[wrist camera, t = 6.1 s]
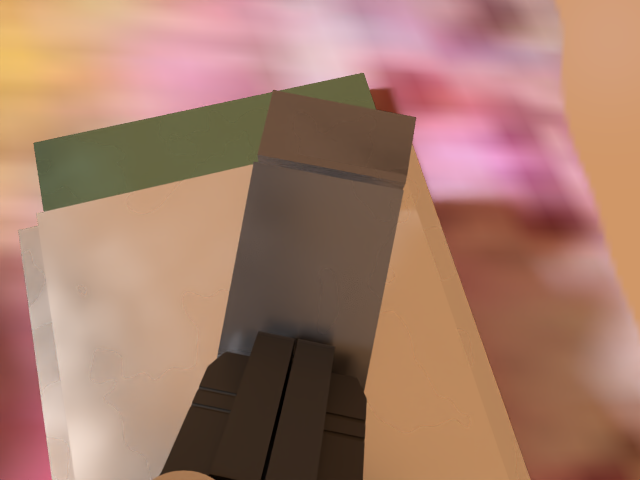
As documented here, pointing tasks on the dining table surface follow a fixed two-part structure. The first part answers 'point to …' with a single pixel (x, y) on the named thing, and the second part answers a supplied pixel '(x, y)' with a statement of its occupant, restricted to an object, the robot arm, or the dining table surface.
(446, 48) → the dining table surface
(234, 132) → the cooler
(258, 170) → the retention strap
